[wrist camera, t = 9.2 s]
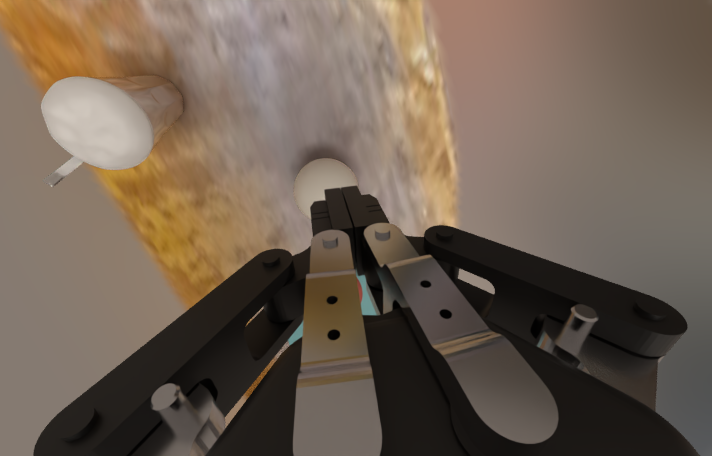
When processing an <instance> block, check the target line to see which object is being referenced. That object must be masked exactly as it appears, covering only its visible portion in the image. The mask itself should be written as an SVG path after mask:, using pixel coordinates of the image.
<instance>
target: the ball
mask: <svg viewBox="0 0 712 456" xmlns="http://www.w3.org/2000/svg"><path fill="white" fill-rule="evenodd" d="M356 185H357V187H358V189H359V186H358V181H357V179H356V177H355V175H354V173H353V172H352V170H351V169H350V168H349V167H348V166H347V165H345V164H344V163H342V162H340V161H338V160H335V159H331V158H321V159H316V160H314V161H311V162H310V163H308V164H307V165H305V166H304V167H303V168H302V169H301V170H300V172H299V173H298V175H297V177H296V179H295V183H294V198H295V202H296V204H297V206H298V208H299V209H300V211H301V212H302V213H303V214H304V215H305V216H306V217H307V218H309V219H311V212H310V207H311V205H312V204H313V202H314V201H321V200H325V194H324V189H332V188H340V189H341V187H348V186H356Z"/></svg>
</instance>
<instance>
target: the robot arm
mask: <svg viewBox="0 0 712 456" xmlns="http://www.w3.org/2000/svg"><path fill="white" fill-rule="evenodd" d="M324 194H325V200H321V201H314V202H313V204H312V205H311V207H310V212H311V222H312V232H313V238H312V240H311V246H310V247H309V248H308V249H307V250H305V251H303V252H301V253H299V254H296V255H294V256H292V255H291V253H290V252H288V251H286V250H283V249H271V250H267V251H264V252H262V253H260V254H258V255H257V256H255V257H254V258H253V259H252V260H250V261H249V262H248V263H247V264H245V265H244V266H243V267H242V268H240V269H239V270H238V271H237V272H235V273H234V274H233V275H231V276H230V277H229V278H228V279H226V280H225V281H224V282H223V283H221V284H220V285H219V286H218V287H216V288H215V289H214V290H213V291H211V292H210V293H209V294H208V295H206V296H205V297H204V298H203V299H201V300H200V301H199V302H198V303H196V304H195V305H194V306H193V307H191V308H190V309H189V310H188V311H186V312H185V313H184V314H183V315H181V316H180V317H179V318H177V319H176V320H175V321H174V322H173V323H171V324H170V325H169V326H168V327H166V328H165V329H164V330H163V331H161V332H160V333H159V334H157V335H156V336H155V337H154V338H152V339H151V340H150V341H149V342H147V344H145V345H144V346H142V347H141V348H140V349H139V350H137V351H136V352H135V353H134V354H132V355H131V356H130V357H129V358H127V359H126V360H125V361H123V362H122V363H121V364H120V365H118V366H117V367H116V368H115V369H113V370H112V371H111V372H110V373H108V374H107V375H106V376H105V377H103V378H102V379H101V380H100V381H98V382H97V383H96V384H95V385H93V386H92V387H91V388H90V389H89V390H87V391H86V392H85V393H83V394H82V395H81V396H80V397H78V398H77V399H76V400H75V401H73V402H72V403H71V404H70V405H68V406H67V407H66V408H64V409H63V410H62V411H61V412H60V413H59V414H57V416H56V417H54V418H53V419H52V420H51V422H50V423H49V424H48V425H47V426H46V428H45V429H44V430H43V432H42V433H41V435H40V437H39V438H38V440H37V443H36V445H35V449H34V456H700V455H699V454H698V453H697V452H696V450H695V449H694V447H693V446H692V445H691V444H690V443H689V442H688V441H687V440H686V439H685V437H684V436H683V435H682V434H681V433H680V432H679V431H678V430H677V429H676V428H674V427H673V426H672V425H671V424H670V423H669V422H668V421H666V420H665V419H664V418H663V417H662V416H660V415H659V414H658V413H656V412H655V411H656V391H657V370H658V363H659V362H660V361H661V360H662V358H663V357H664V356H665V355H666V353H667V352H668V351H669V350H670V349H671V348H672V347H673V346H674V344H675V343H676V342H677V341H678V340H679V339H680V337H681V336H682V335H683V334H684V333H685V331H686V330H687V322H686V320H685V319H684V317H683V316H682V315H681V314H680V313H679V312H678V311H677V310H676V309H674V308H673V307H672V306H670V305H668V304H667V303H665V302H663V301H661V300H659V299H657V298H655V297H652V296H649V295H646V294H644V293H641V292H638V291H635V290H632V289H629V288H626V287H623V286H621V285H618V284H615V283H612V282H609V281H606V280H603V279H600V278H598V277H595V276H592V275H589V274H586V273H583V272H580V271H577V270H574V269H572V268H569V267H566V266H563V265H560V264H557V263H554V262H551V261H549V260H546V259H543V258H540V257H537V256H534V255H531V254H528V253H526V252H522V251H520V250H517V249H514V248H511V247H508V246H505V245H502V244H499V243H497V242H494V241H491V240H488V239H485V238H482V237H479V236H477V235H474V234H471V233H468V232H465V231H462V230H459V229H456V228H454V227H450V226H444V225H439V226H433V227H430V228H428V229H427V230H426V231H425V234H424V237H412V236H406V235H404V234H403V233H402V231H401V230H400V229H399V228H398V227H397V226H395V225H393V224H390V223H389V221H388V219H387V217H386V215H385V213H384V212H383V210H382V208H381V206H380V204H379V202H378V200H377V199H376V198H375V197H373V196H371V195H370V194H367V195H361V193H360V191H359V189H358V187H357V185H356V186H348V187H341V189H340V188H332V189H324ZM459 268H460V269H463V270H465V271H467V272H470V273H472V274H474V275H477V276H479V277H482V278H484V279H486V280H488V281H489V282H490V283H492V285H493V286H494V288H495V294H491V293H489V292H487V291H484V290H482V289H480V288H478V287H475V286H473V285H471V284H469V283H467V282H464V281H462V280H460V279H458V274H459ZM356 271H357V274H358V276H362V275H365V278H366V290H367V293H368V295H369V297H370V300H371V302H372V305H373V307H374V310H375V312H376V315H362V309H361V303H360V297H359V290H358V284H357V277H356ZM262 307H264V309H263V310H262V311H261V312H260V313H259V314H258V315H257V316H256V317H255V318H254V319H253V320H252V321H251V322H250V323H249V324H248V325H247V326H246V324H247V323H248V321H249V320H250V319H251V318H252V317H253V316H254V315H255V314H256V313H257V312H258V311H259V310H260V309H261V308H262ZM302 322H303V336H302V337H300V338H299V339H298V340H296V341H295V342H293V343H292V344H291V345H290V346H289V347H288V348H287V349H286V350H285V351H284V352H283V353H282V354H281V355H280V357H279V358H278V359H277V361H276V362H275V363H274V365H273V366H272V367H271V369H270V370H269V371H268V372H267V374H266V375H265V376H264V378H263V379H262V380H261V382H260V383H259V384H258V386H257V387H256V388H255V390H254V391H253V392H252V394H251V395H250V396H249V398H248V399H247V400H246V402H245V403H244V404H243V406H242V407H241V409H240V410H239V411H238V412H237V414H236V415H235V416H234V418H233V419H232V420H231V422H230V423H229V424H228V426H227V427H226V428H225V417H226V415H227V414H228V413H229V412H230V410H231V409H232V408H233V407H234V406H235V404H236V403H237V402H238V401H239V399H240V398H241V397H242V396H243V395H244V393H245V392H246V391H247V390H248V388H249V387H250V386H251V385H252V384H253V382H254V381H255V380H256V379H257V377H258V376H259V375H260V374H261V372H262V371H263V370H264V369H265V368H266V366H267V365H268V364H269V363H270V361H271V360H272V359H273V358H274V357H275V355H276V354H277V353H278V352H279V350H280V349H281V348H282V347H283V345H284V344H285V343H286V342H287V341H288V339H289V338H290V337H291V336H292V334H293V333H294V332H295V331H296V330H297V328H298V327H299V326H300V325H301V323H302ZM245 326H246V327H245Z"/></svg>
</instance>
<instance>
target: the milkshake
mask: <svg viewBox="0 0 712 456" xmlns="http://www.w3.org/2000/svg"><path fill="white" fill-rule="evenodd" d="M41 110H42V114H43V116H44V119H45V122H46V125H47V128H48V130H49V132H50V134H51V136H52V137H53V138H54V140H55V141H56V142H57V143H58V144H59V145H61V146H62V147H63V148H64V149H65V150H66V151H68V152H69V153H70V154H72V155H73V157H72V158H71V159H69V160H68V161H67V162H66V163H64V164H63V165H62V166H60V167H59V168H58V169H56V170H55V171H54V172H53V173H51V174H50V175H49V176H48V177H46V178H45V179H44V180H43V182H45V183H46V184H48V185H50V186H55V185H57V184H58V183H59V182H60V181H62V180H63V179H64V178H65V177H66V176H67V175H69V174H70V173H71V172H72V171H74V170H75V169H76V168H77V167H79V166H80V165H81V164H82V163H83V162H86V163H88V164H90V165H93V166H95V167H98V168H102V169H108V170H121V169H128V168H132V167H134V166H137V165H138V164H140V163H141V162H143V161H144V160H145V159H146V158H147V157H148V156H149V154H150V153H151V152H152V150H153V149H154V148H155V146H156V145H157V144H158V142H159V141H160V140H161V138H162V136H163V135H164V134H165V133H166V132H167V131H168V129H169V128H170V127H171V126H172V125H173V124H174V123H175V122H176V121H177V119H178V118H179V117H180V115H181V114H182V113H183V112H184V106H183V96H182V95H181V94H180V92H179V91H178V90H177V88H176V87H175V86H174V84H173V83H172V82H170V81H168V80H165V79H163V78H161V77H159V76H157V75H147V76H131V77H69V78H65V79H62V80H59V81H57V82H56V83H55V84H53V85H52V86H51V87H50V89H49V90H48V91H47V93H46V94H45V96H44V98H43V100H42V103H41Z"/></svg>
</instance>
